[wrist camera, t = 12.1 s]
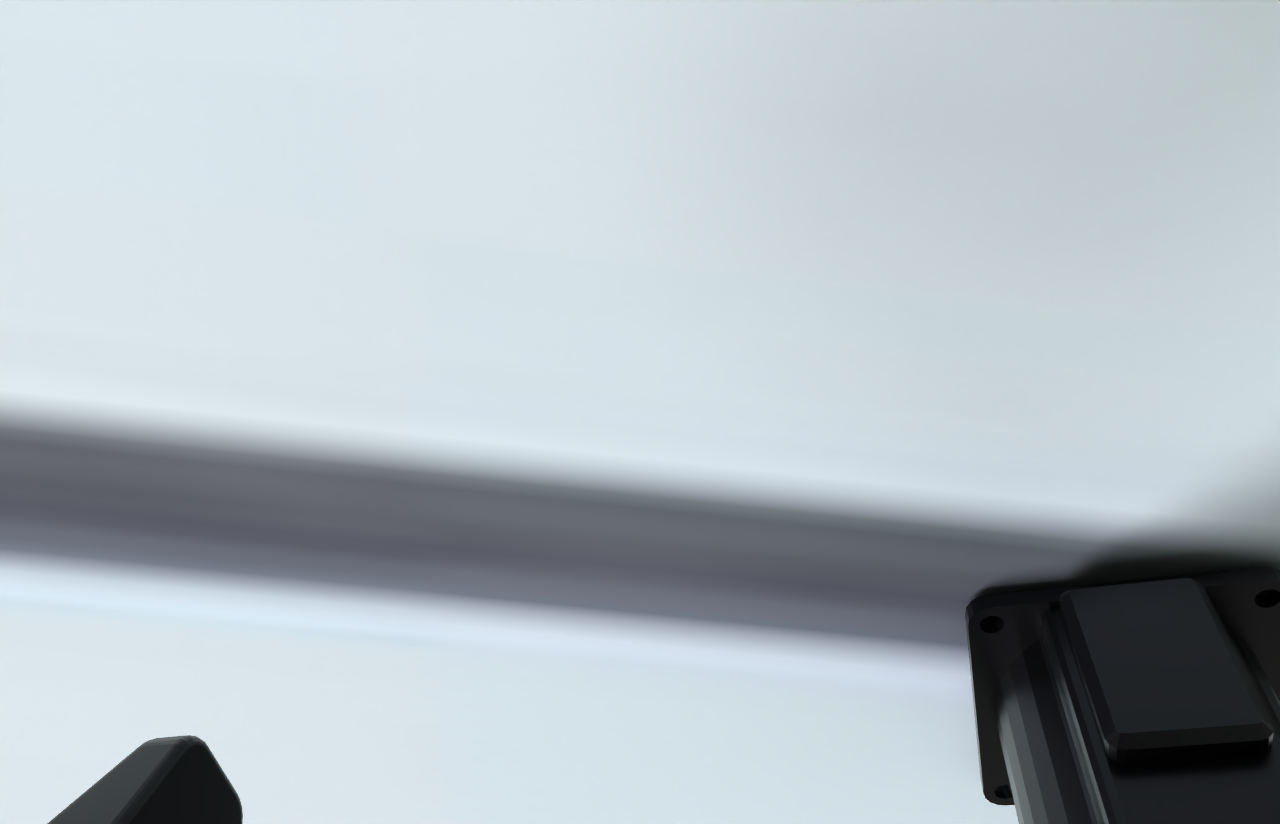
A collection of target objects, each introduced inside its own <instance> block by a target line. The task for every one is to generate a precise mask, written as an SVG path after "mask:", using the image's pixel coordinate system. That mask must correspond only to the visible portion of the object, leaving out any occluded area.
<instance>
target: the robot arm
mask: <svg viewBox="0 0 1280 824" xmlns="http://www.w3.org/2000/svg"><path fill="white" fill-rule="evenodd" d="M1267 589H1271V590H1270V591H1269V592H1267V593H1265V594H1261V595H1257V594H1258V593H1260V592H1261V591H1264V590H1267ZM989 616H998V617H997V618H996V619H993V620H990V621H989V620H983V619H984V618H985V617H989ZM965 617H966V628H967V638H968V649H969V659H970V670H971V680H972V691H973V701H974V712H975V722H976V733H977V743H978V754H979V764H980V775H981V782H982V787H983V792H984V795H985V798H986V799H987V800H989V801H990V802H991V803H994V804H997V805H1015V808H1016V812H1017V816H1018V821H1019V824H1280V571H1279V570H1277V569H1274V568H1266V567H1261V568H1251V569H1241V570H1231V571H1221V572H1211V573H1201V574H1191V575H1181V576H1171V577H1161V578H1151V579H1141V580H1131V581H1121V582H1110V583H1100V584H1090V585H1080V586H1070V587H1060V588H1050V589H1040V590H1030V591H1020V592H1010V593H1000V594H990V595H984V596H980V597H978V598H976V599H974V600H973V601H971V602H970V603H969V605H968V606H967V607H966V613H965ZM242 818H243V814H242V806H241V802H240V798H239V796H238V794H237V793H236V791H235V789H234V788H233V786H232V784H231V783H230V781H229V780H228V778H227V776H226V775H225V773H224V772H223V770H222V768H221V767H220V765H219V764H218V762H217V760H216V759H215V757H214V755H213V754H212V752H211V751H210V749H209V747H208V746H207V745H206V743H205V742H204V741H203V740H201V739H199V738H198V737H196V736H190V735H189V736H177V737H166V738H156V739H153V740H149V741H147V742H145V743H144V744H142V745H141V746H140V747H138V748H137V749H136V750H135V751H134V752H132V753H131V754H130V755H129V756H128V757H126V758H125V759H124V760H123V761H122V762H120V763H119V764H118V765H117V766H116V767H114V768H113V769H112V770H111V771H110V772H108V773H107V774H106V775H105V776H104V777H103V778H101V779H100V780H99V781H98V782H97V783H95V784H94V785H93V786H92V787H91V788H89V789H88V790H87V791H86V792H85V793H83V794H82V795H81V796H80V797H79V798H77V799H76V800H75V801H74V802H73V803H72V804H70V805H69V806H68V807H67V808H66V809H64V810H63V811H62V812H61V813H60V814H58V815H57V816H56V817H55V818H54V819H52V820H51V821H50V822H49V823H48V824H242Z"/></svg>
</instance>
